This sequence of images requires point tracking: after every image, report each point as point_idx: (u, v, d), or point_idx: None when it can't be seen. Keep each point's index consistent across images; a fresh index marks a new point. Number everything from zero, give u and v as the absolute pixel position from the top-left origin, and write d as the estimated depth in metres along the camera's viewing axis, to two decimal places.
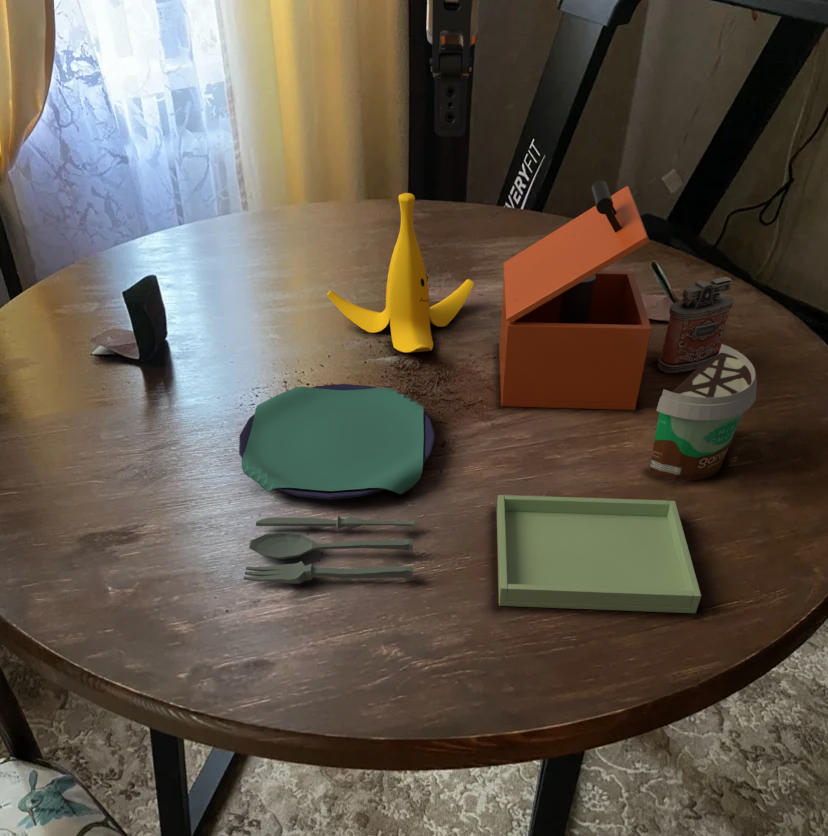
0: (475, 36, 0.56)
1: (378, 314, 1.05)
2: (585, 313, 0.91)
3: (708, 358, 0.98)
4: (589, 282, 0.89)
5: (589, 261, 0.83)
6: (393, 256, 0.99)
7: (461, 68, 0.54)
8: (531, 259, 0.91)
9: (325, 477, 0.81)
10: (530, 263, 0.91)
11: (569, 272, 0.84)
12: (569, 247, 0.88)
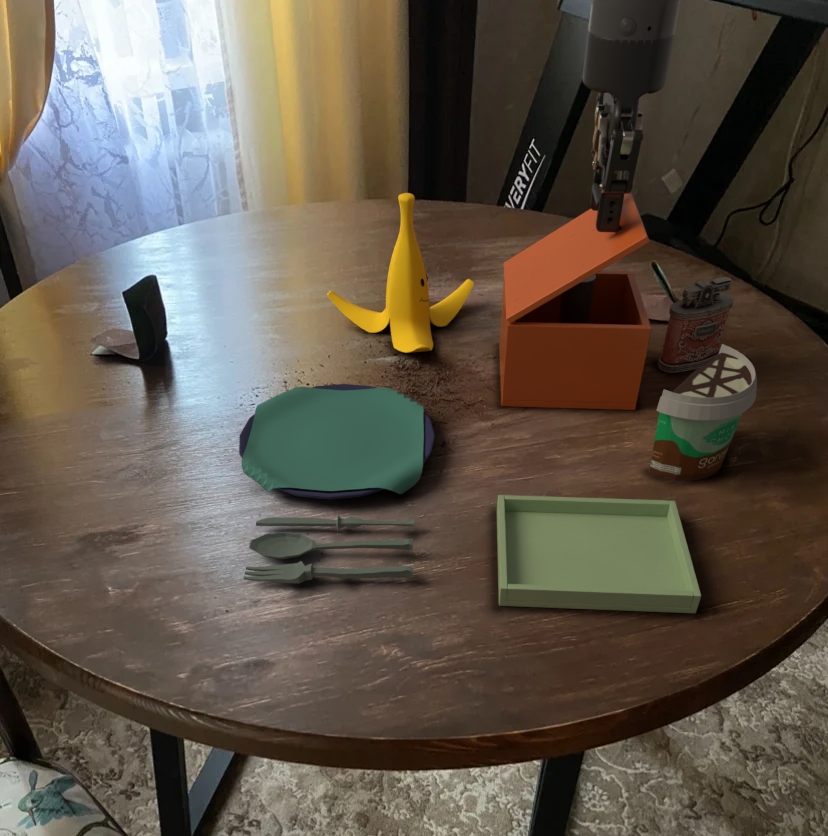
0: None
1: (378, 314, 1.05)
2: (585, 313, 0.91)
3: (708, 358, 0.98)
4: (589, 282, 0.89)
5: (589, 261, 0.83)
6: (393, 256, 0.99)
7: (625, 190, 0.77)
8: (531, 259, 0.91)
9: (325, 477, 0.81)
10: (530, 263, 0.91)
11: (569, 272, 0.84)
12: (569, 247, 0.88)
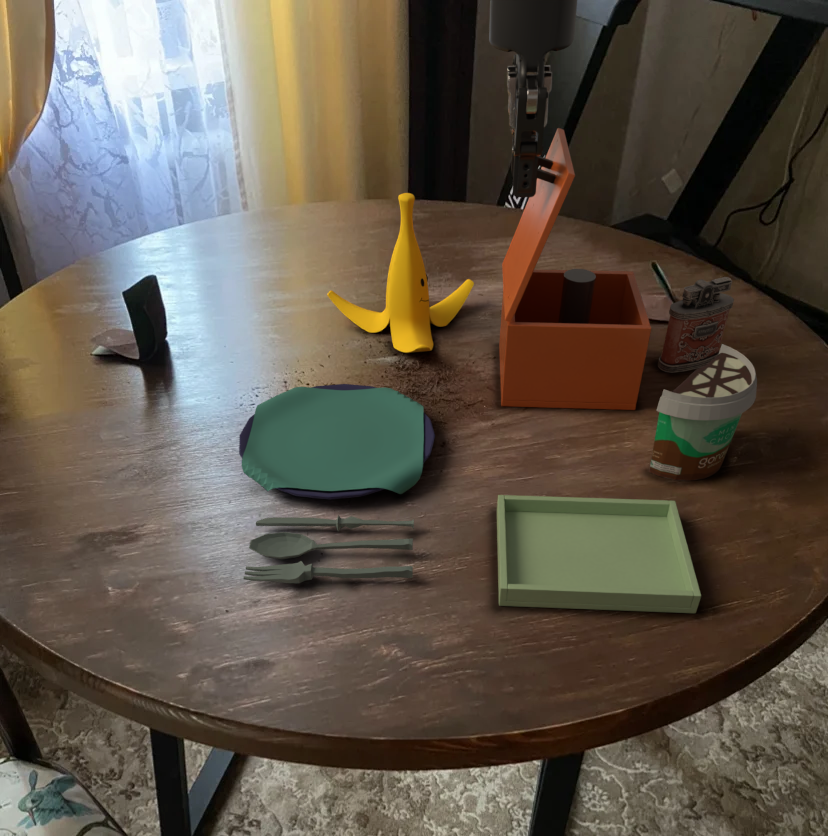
0: None
1: (378, 314, 1.05)
2: (585, 313, 0.91)
3: (708, 358, 0.98)
4: (589, 282, 0.89)
5: (541, 225, 0.81)
6: (393, 256, 0.99)
7: (536, 152, 0.76)
8: (514, 248, 0.91)
9: (325, 477, 0.81)
10: (514, 253, 0.90)
11: (532, 246, 0.82)
12: (531, 220, 0.86)
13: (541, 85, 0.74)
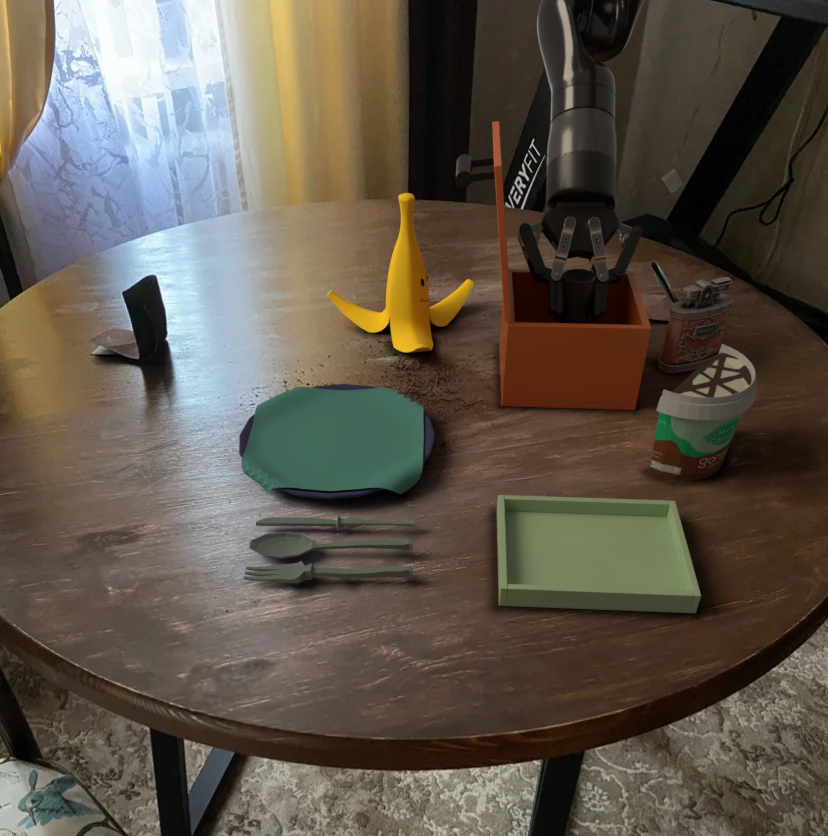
0: (559, 256, 0.90)
1: (378, 314, 1.05)
2: (585, 313, 0.91)
3: (708, 358, 0.98)
4: (589, 282, 0.89)
5: None
6: (393, 256, 0.99)
7: (534, 272, 0.91)
8: None
9: (325, 477, 0.81)
10: None
11: None
12: None
13: (543, 223, 0.91)
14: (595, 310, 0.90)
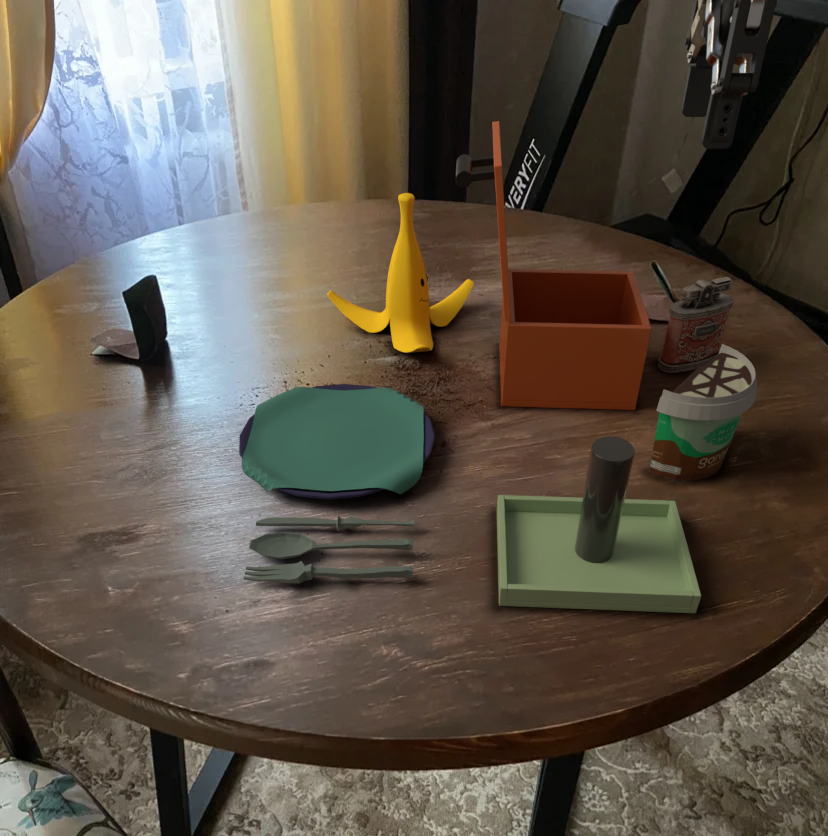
0: None
1: (378, 314, 1.05)
2: (620, 496, 0.68)
3: (708, 358, 0.98)
4: (626, 460, 0.66)
5: None
6: (393, 256, 0.99)
7: (749, 87, 0.59)
8: None
9: (325, 477, 0.81)
10: None
11: None
12: None
13: None
14: None
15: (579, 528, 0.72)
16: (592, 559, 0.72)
